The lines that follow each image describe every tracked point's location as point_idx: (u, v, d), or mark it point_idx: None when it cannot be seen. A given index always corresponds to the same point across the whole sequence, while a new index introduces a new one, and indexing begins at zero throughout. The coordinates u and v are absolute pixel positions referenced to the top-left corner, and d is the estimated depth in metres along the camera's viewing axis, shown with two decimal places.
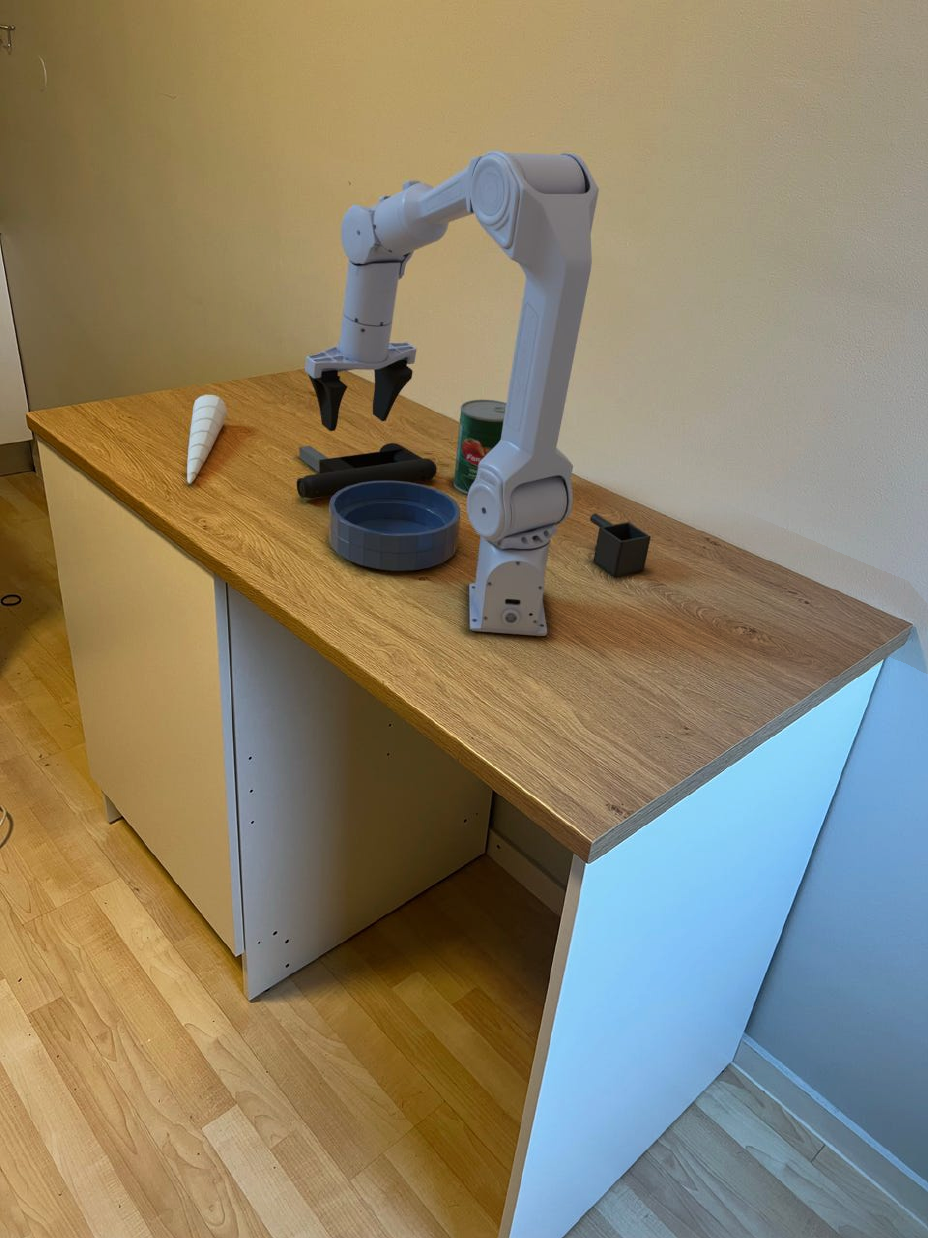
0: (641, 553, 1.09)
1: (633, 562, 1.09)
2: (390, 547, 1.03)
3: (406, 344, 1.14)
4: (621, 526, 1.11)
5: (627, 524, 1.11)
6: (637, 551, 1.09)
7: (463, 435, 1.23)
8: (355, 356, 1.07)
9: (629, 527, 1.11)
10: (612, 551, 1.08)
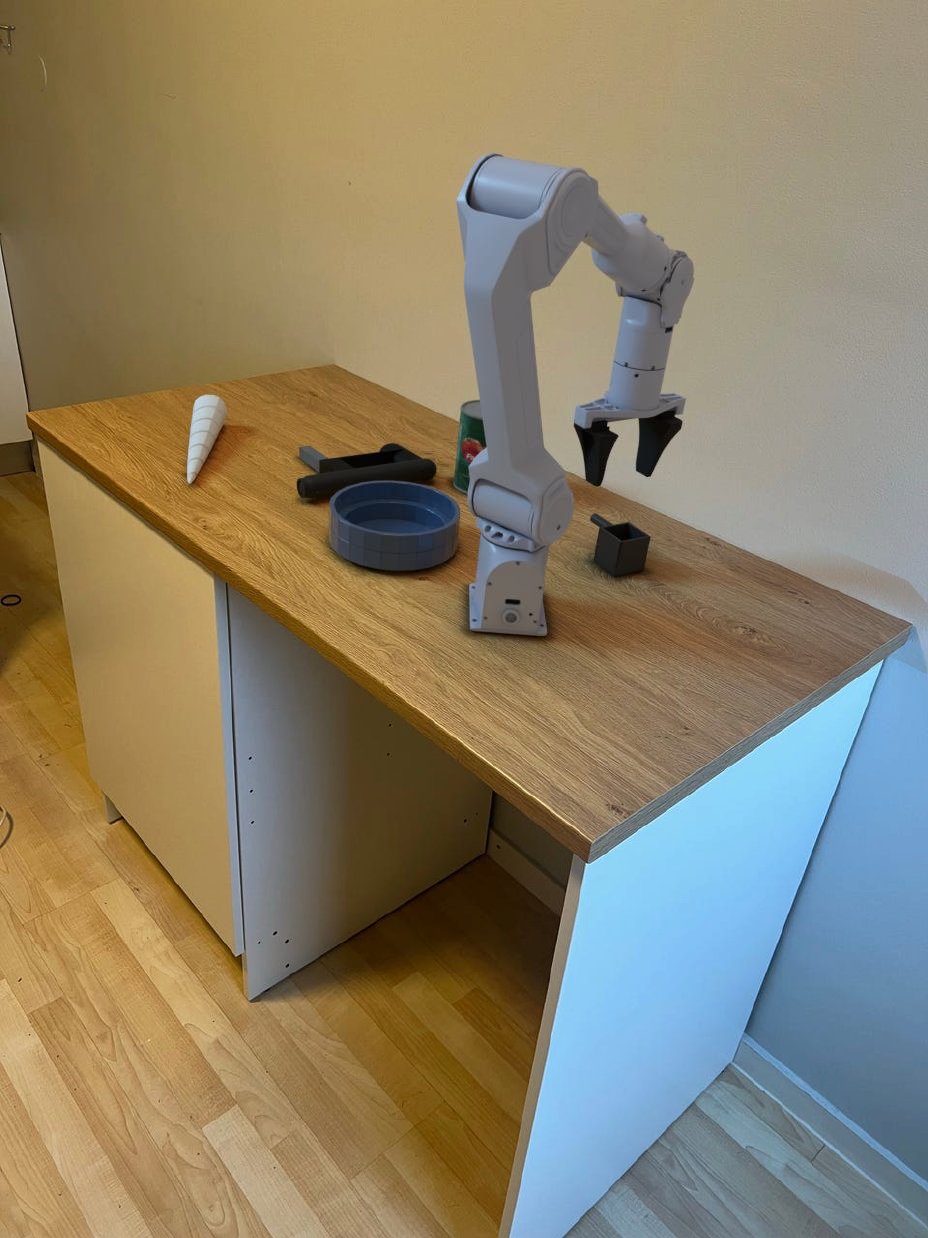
0: (641, 553, 1.09)
1: (633, 562, 1.09)
2: (390, 547, 1.03)
3: (673, 395, 1.08)
4: (621, 526, 1.11)
5: (627, 524, 1.11)
6: (637, 551, 1.09)
7: (463, 434, 1.23)
8: (627, 404, 1.01)
9: (629, 527, 1.11)
10: (612, 551, 1.08)
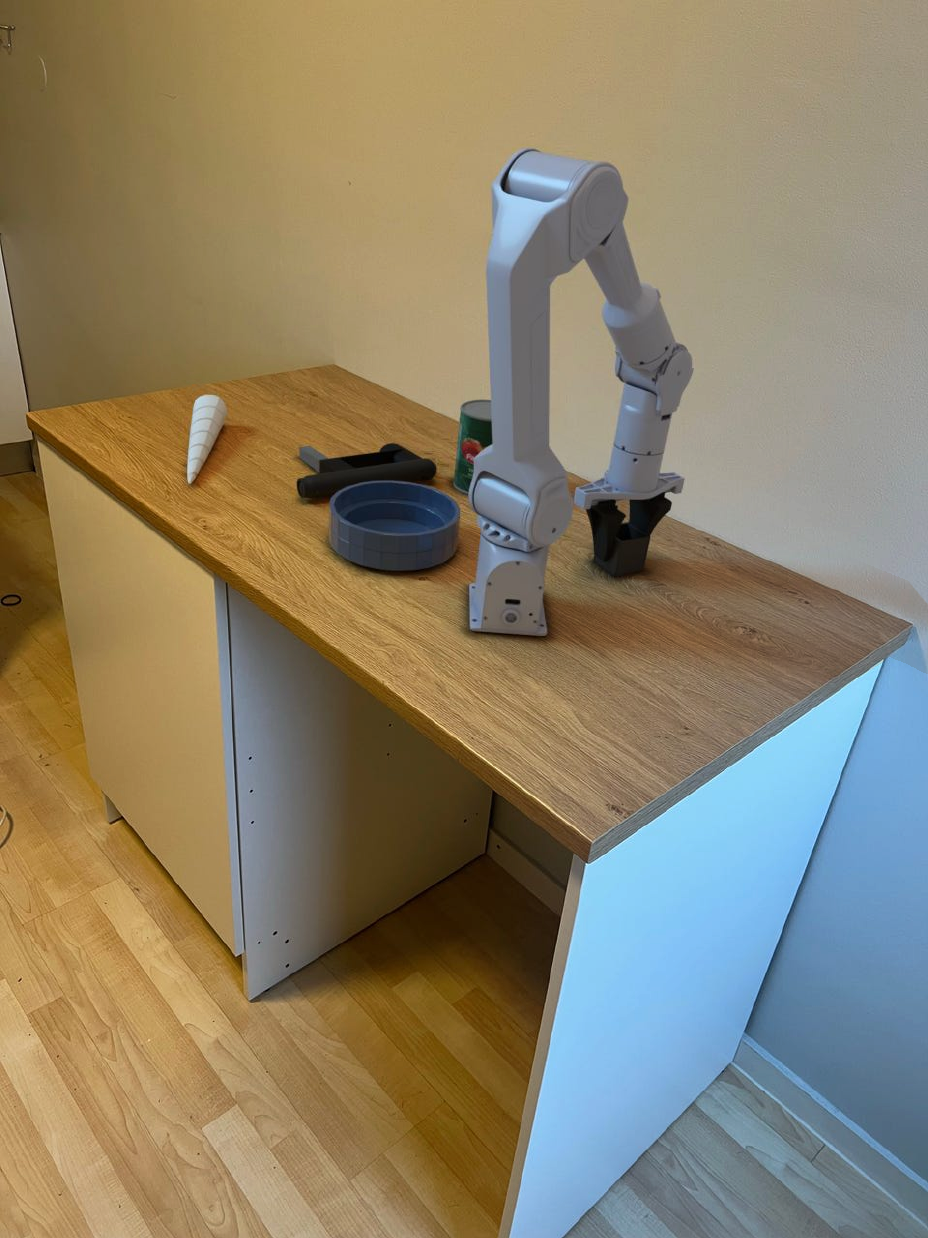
0: (641, 553, 1.09)
1: (632, 562, 1.09)
2: (390, 547, 1.03)
3: (673, 474, 1.10)
4: (621, 526, 1.11)
5: (627, 524, 1.11)
6: (637, 551, 1.09)
7: (463, 435, 1.23)
8: (625, 486, 1.04)
9: (629, 527, 1.11)
10: (612, 551, 1.08)
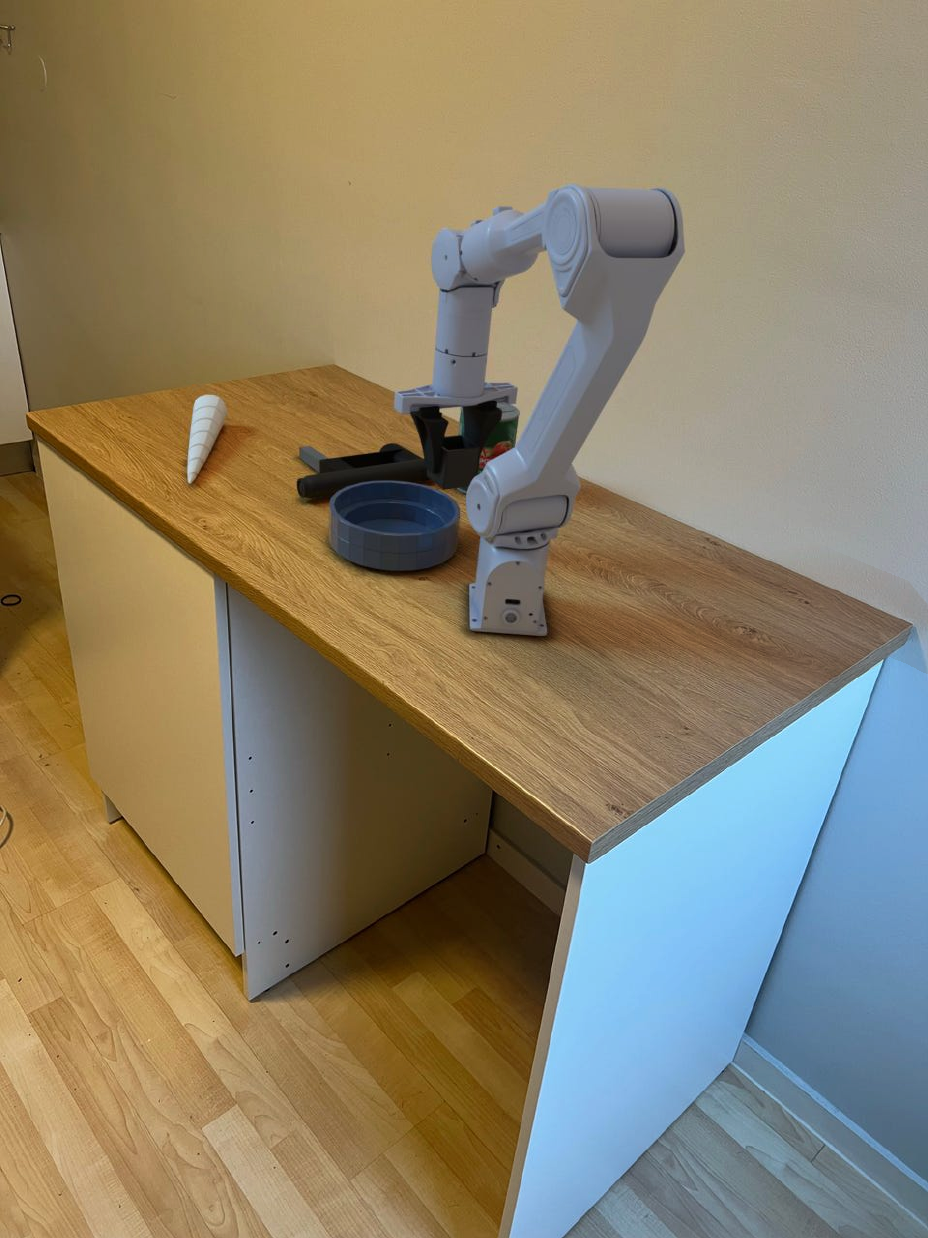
0: (472, 465, 1.05)
1: (463, 474, 1.05)
2: (390, 547, 1.03)
3: (507, 384, 1.06)
4: (454, 438, 1.07)
5: (461, 437, 1.07)
6: (467, 462, 1.05)
7: None
8: (447, 391, 1.00)
9: (463, 440, 1.07)
10: None
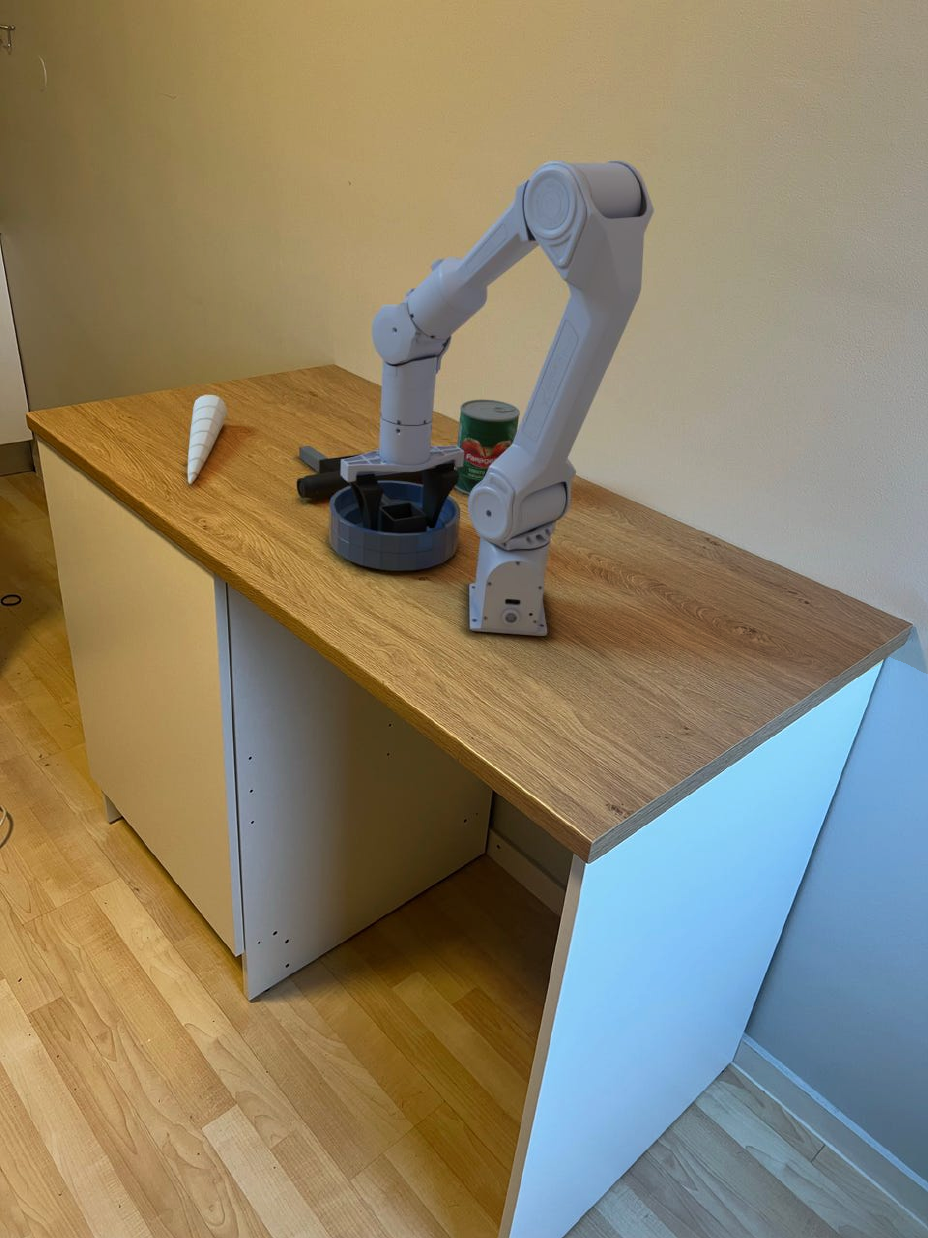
0: None
1: None
2: (390, 547, 1.03)
3: (454, 447, 1.08)
4: (402, 505, 1.09)
5: (409, 503, 1.09)
6: (414, 530, 1.07)
7: (463, 435, 1.23)
8: (392, 458, 1.01)
9: (411, 506, 1.09)
10: (387, 530, 1.06)
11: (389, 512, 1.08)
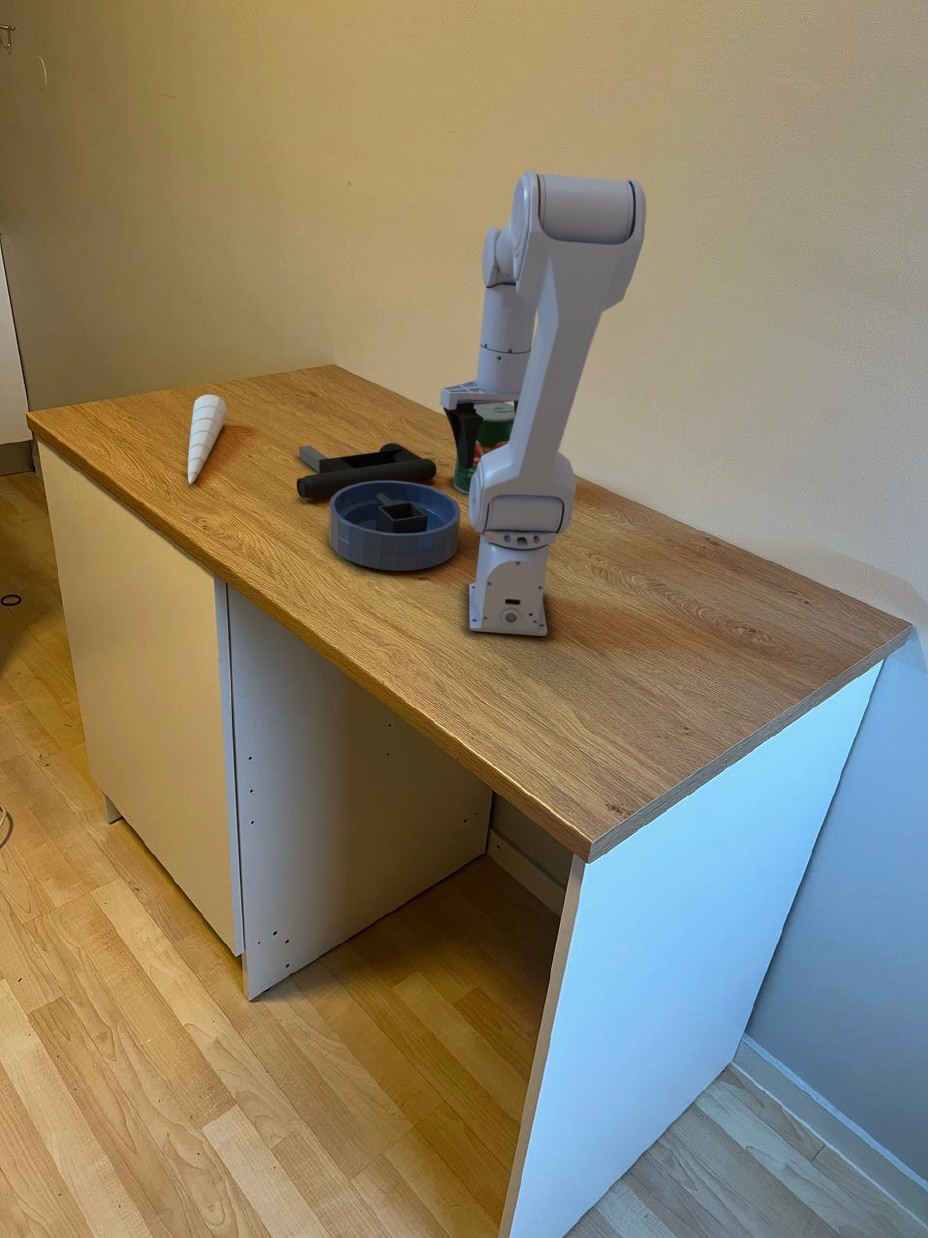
0: None
1: None
2: (390, 547, 1.03)
3: None
4: (402, 505, 1.09)
5: (409, 503, 1.09)
6: (414, 530, 1.07)
7: None
8: (492, 387, 1.03)
9: (411, 506, 1.09)
10: (387, 530, 1.06)
11: (389, 512, 1.08)
